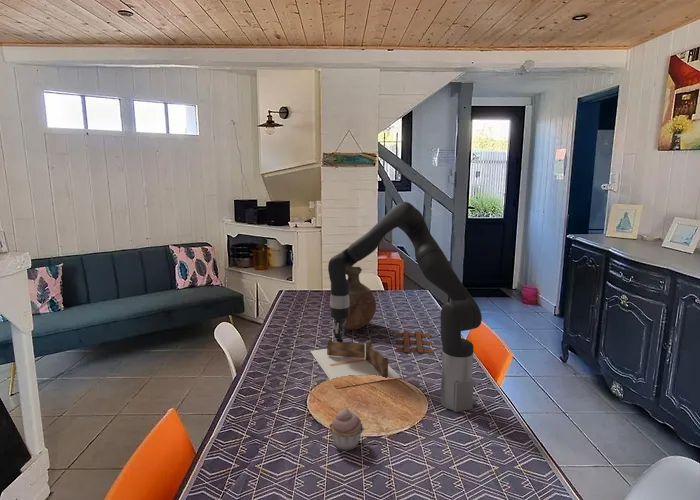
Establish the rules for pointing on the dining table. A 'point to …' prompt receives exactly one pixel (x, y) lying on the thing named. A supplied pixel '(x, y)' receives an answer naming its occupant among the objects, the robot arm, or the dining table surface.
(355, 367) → the card
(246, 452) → the dining table surface
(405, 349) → the decorative fence
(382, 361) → the fence fixed
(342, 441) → the cupcake
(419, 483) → the dining table surface
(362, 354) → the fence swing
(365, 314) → the jug
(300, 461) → the dining table surface
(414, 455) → the dining table surface
